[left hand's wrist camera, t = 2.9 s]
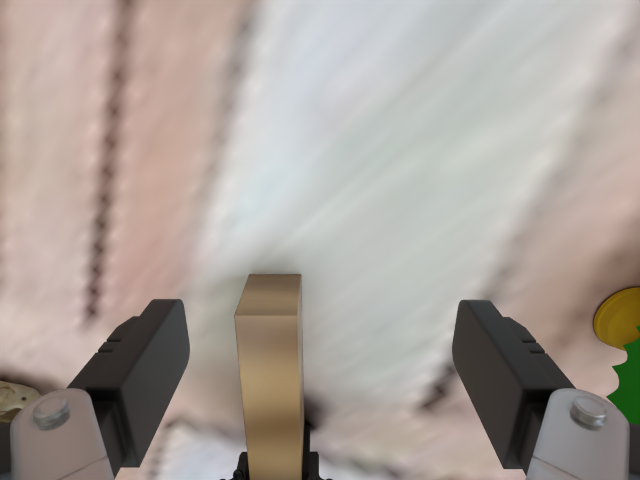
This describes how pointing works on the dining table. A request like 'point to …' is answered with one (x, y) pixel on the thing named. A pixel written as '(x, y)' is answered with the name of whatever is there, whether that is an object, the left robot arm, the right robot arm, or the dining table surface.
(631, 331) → the ornament
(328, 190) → the dining table surface
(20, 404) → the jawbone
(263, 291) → the bar
